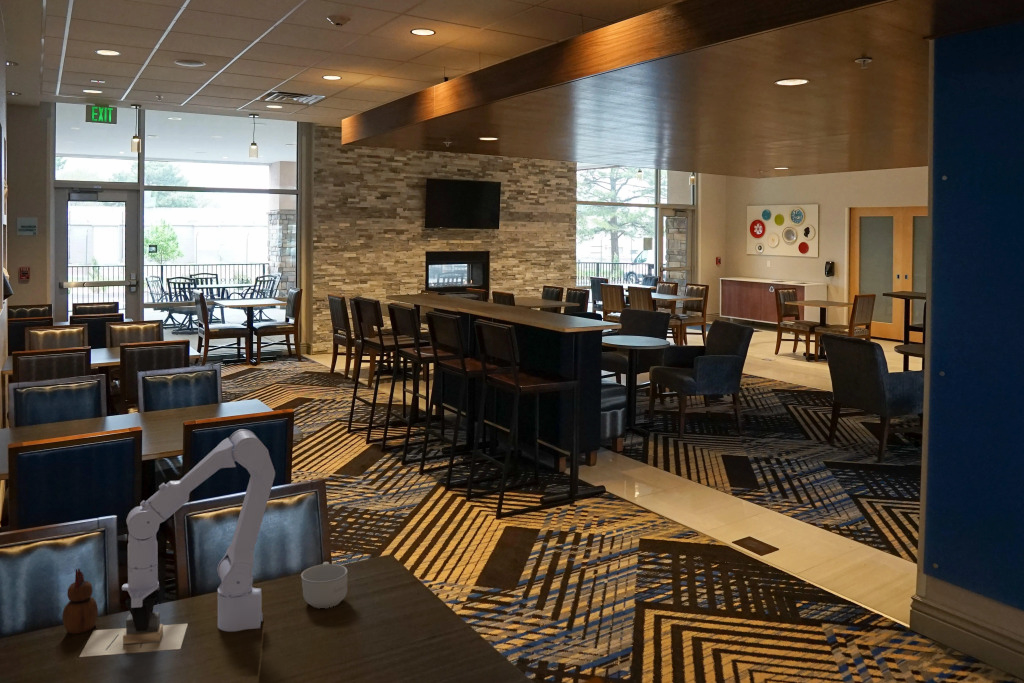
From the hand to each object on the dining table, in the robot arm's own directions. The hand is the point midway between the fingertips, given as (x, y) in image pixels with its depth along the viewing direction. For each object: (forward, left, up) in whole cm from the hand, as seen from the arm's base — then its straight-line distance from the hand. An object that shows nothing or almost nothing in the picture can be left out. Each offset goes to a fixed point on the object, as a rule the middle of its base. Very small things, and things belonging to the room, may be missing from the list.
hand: (143, 626), depth 173 cm
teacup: (-38, -16, -4) cm, 42 cm away
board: (+1, 0, -4) cm, 4 cm away
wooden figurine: (+14, -8, -4) cm, 17 cm away
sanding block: (0, 0, -3) cm, 3 cm away
